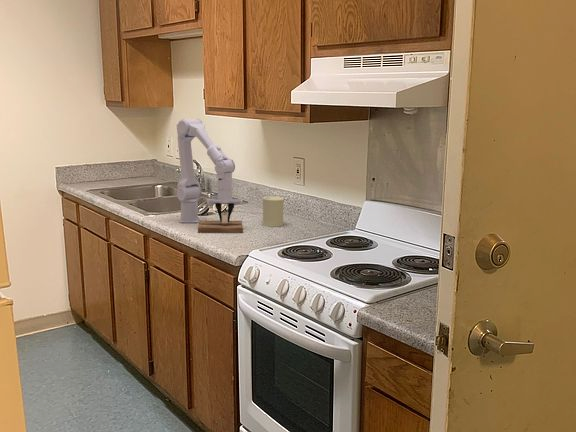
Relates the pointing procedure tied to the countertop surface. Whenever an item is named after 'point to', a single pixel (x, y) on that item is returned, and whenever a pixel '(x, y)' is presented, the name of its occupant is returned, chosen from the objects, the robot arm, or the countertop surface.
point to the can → (273, 211)
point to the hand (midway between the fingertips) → (224, 221)
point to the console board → (220, 227)
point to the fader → (224, 218)
